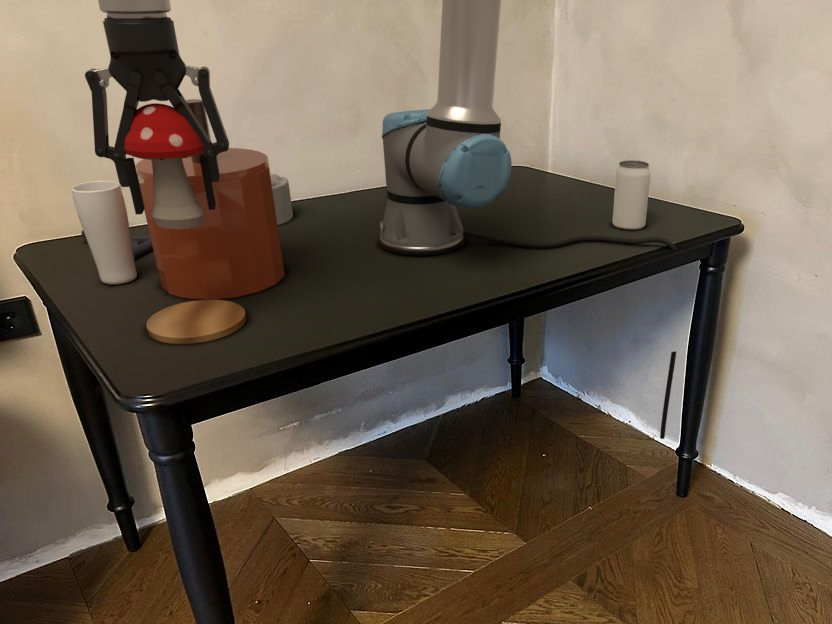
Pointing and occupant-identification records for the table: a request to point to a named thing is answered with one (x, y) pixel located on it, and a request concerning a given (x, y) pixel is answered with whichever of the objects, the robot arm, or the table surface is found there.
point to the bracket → (137, 244)
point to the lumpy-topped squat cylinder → (282, 198)
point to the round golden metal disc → (196, 321)
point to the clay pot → (219, 228)
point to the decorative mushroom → (167, 163)
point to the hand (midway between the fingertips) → (176, 209)
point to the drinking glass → (106, 229)
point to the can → (631, 195)
